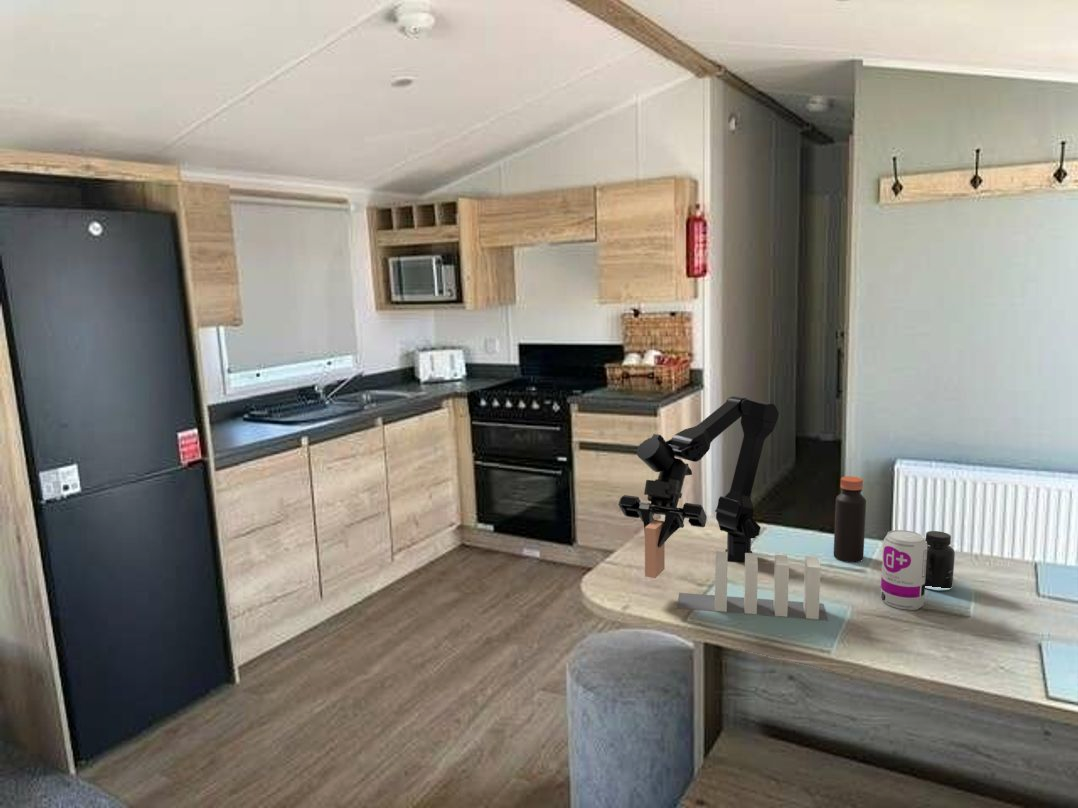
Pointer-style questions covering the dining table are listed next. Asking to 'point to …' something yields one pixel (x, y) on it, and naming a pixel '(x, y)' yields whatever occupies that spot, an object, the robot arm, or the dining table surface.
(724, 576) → the domino
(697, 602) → the mat
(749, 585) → the domino
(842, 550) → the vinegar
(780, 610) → the domino
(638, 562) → the dining table surface
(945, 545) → the supplement bottle
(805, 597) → the domino
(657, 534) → the orange end domino
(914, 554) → the supplement can
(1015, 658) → the dining table surface
